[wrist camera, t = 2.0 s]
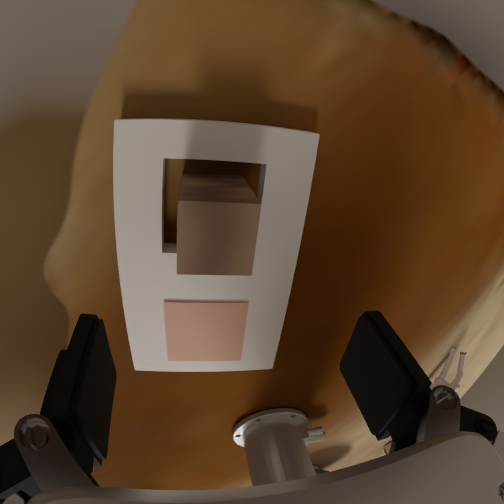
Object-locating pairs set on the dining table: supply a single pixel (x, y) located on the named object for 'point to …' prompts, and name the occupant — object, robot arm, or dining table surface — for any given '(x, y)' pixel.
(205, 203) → the walnut block
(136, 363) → the pocket board
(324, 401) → the dining table surface
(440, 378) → the llama figurine
